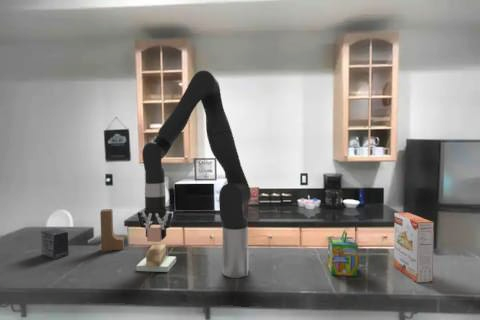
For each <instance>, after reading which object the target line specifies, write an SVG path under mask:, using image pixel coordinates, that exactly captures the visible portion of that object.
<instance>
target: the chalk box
mask: <svg viewBox="0 0 480 320" xmlns="http://www.w3.org/2000/svg"><path fill="white" fill-rule="evenodd" d="M358 249H359V244H358V242H357V241H356V240H355V239H354V237H349V236H348V232H347V231H346V230H343V231H342V234H341V236H333V235H332V236H330V235H329V236H328V237H327V267H328V270H329V271H330V274H331V276H347V277H348V276H349V277H358V257H359V256H358V255H359V250H358Z"/></svg>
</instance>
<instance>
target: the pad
mask: <svg viewBox="0 0 480 320" xmlns="http://www.w3.org/2000/svg"><path fill="white" fill-rule="evenodd" d="M176 263H177V256H170V255H166V258H165V259H164V261H163V262H162V263H161V265H160V266H146V256H145V257H144V258H143V259H142V260H141V261H140V262H139V263H138V264H137V265H136V271H137V272H161V273H163V272H164V273H168V272H170V270H171V269H172V268H173V266H174V265H175V264H176Z"/></svg>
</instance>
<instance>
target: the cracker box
mask: <svg viewBox="0 0 480 320" xmlns="http://www.w3.org/2000/svg"><path fill="white" fill-rule="evenodd" d="M393 223H394V228H393V229H394V233H393V234H394V236H393V238H394V240H393V243H394V244H393V248H394V249H393V267H394V268H396V269H397V270H399V271H400V272H401V271H402V272H401V273H403V274H404V275H405V276H407V277H408V276H409V279H411V278H412V279H413V280H412V279H411V280H412V281H413V282H415V281H416V282H428V283H431V282H430V281H433V279H434V276H433V275H434V239H435V237H434V234H435V233H434V228H435V225H434V224H435V223H434V221H431V220H429V219H425V218H424V217H421V216H418V215H416V214H413V213H411V212H394V222H393ZM416 282H415V283H416Z"/></svg>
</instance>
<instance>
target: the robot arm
mask: <svg viewBox="0 0 480 320" xmlns="http://www.w3.org/2000/svg"><path fill="white" fill-rule="evenodd" d="M200 102H201V104H202V107H203V110H204V113H205V128H206V136H207V140H208V145H209V148H210V150H211V153H212V155H213V156H214V158H215V159H216V161H217V162H218V163H219V165H220V166H221V168H222V170H223V171H224V174H225V177H226V181H227V183H225V184H224V185H223V186H222V187H221V188H220V190H219V197H218V202H219V203H218V205H219V206H218V207H219V217H220V220H221V224H222V225H221V226H222V227H221V228H222V232H221V234H222V274H223V275H224V276H225V277H227V278H232V279H238V278H244V277H248V275H249V269H250V268H249V267H250V266H249V263H250V262H249V239H248V238H249V233H248V232H249V223H248V222H249V221H248V218H247V217H246V216H244V210H243V208H244V207H243V206H246V204H248V203H249V202H250V200H251V196H252V195H251V194H252V193H251V192H252V191H251V188H250V185H249V182H248V179H247V178H246V175H245V172H244V170H243V166H242V164H241V160H240V157H239V153H238V150H237V147H236V146H237V145H236V142H235V139H234V135H233V132H232V128H231V125H230V123H229V120H228V117H227V114H226V112H225V109H224V105H223V99H222V94H221V88H220V84H219V81H218V79H217V78H216V77H215V75H214V74H213V73H211V72H210V71H209V70H205V69H204V70H203V69H202V70H198V71H197V72H196V73H195V74H193V76H192V78H191V79H190V81H189V84H188V85H187V88H186V89H185V91H184V93H183V94H182V95H181V98H180V100H179V101H178V103H177V104H176V106H175V108H174V109H173V110H172V112H171V114H170V115H169V116H168V117H167V119H166V120H165V121H164V122H163V124H162V125H161V127H160V128H159V130H158V134H157V136H156V138H155V139H154V140H153V141H150V142H148V143H146V144H145V145H144V147H143V148H142V153H141V156H142V161H143V166H144V171H145V178H144V179H145V186H144V199H145V200H144V205H145V208H144V210H143V211H142V210H140V211H138V212H137V214H136V215H137V218H138V221H139V226H140V228H143V229H145V237H146V238H147V228H148V227H150V226H151V225H153V224H152V223H153V222H158V225H160V226H161V229H162V230H161V239H163V240H164V239H165V238H166V237H167V229H170V227H171V226H172V223H173V218H174V211H167V208H166V205H167V204H166V184H165V181H166V180H165V170H164V168H163V166H162V165H163V164H162V159H163V158H164V157H165V156H166V155H167V153H168V152H169V151H170V149H171V147H172V145H173V143H174V142H175V141H176V140H177V139H178V137H179V136H180V135H181V134H182V132H183V131H184V129H185V128H186V126H187V124H188V122H189V119H190V117H191V116H192V113H193V111H194V110H195V108H196V106H197V105H198V103H200ZM145 216H146V217H147V218H145ZM165 216H166V218H167V219H165Z"/></svg>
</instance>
